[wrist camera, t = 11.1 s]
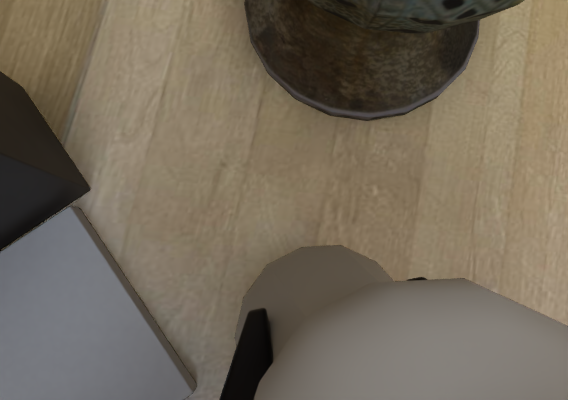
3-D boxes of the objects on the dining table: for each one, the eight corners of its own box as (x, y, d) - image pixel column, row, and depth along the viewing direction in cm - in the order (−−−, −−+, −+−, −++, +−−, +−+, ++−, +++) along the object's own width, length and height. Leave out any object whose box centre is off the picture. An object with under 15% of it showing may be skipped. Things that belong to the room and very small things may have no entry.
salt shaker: (225, 268, 16) (68, 283, 4) (366, 231, 17) (680, 124, 4) (263, 423, 16) (232, 1164, 3) (410, 380, 16) (978, 854, 3)
